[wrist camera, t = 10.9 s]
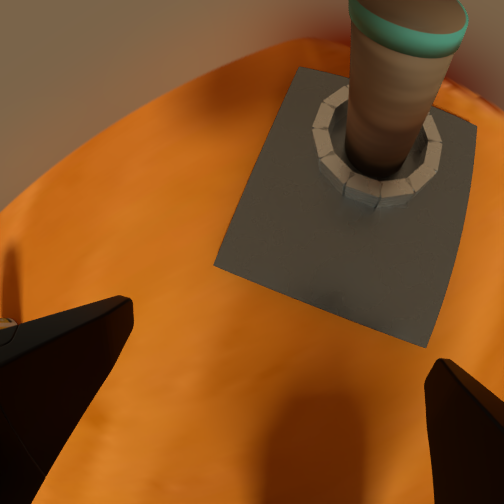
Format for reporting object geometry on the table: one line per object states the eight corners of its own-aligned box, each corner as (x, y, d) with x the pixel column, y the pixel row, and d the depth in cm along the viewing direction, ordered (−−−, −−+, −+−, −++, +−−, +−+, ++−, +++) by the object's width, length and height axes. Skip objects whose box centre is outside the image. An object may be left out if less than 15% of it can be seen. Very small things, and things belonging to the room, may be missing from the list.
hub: (472, 132, 19) (486, 113, 16) (421, 346, 18) (436, 352, 15) (300, 73, 23) (296, 50, 20) (218, 267, 22) (202, 261, 19)
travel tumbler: (419, 150, 19) (484, 13, 7) (379, 192, 19) (436, 54, 7) (370, 109, 20) (388, -40, 8) (329, 147, 21) (322, -9, 8)
